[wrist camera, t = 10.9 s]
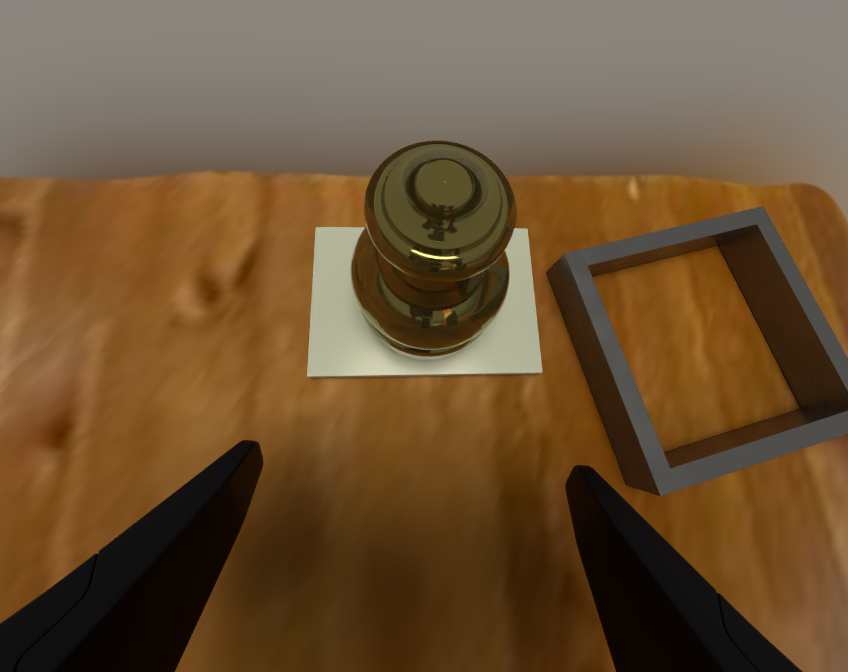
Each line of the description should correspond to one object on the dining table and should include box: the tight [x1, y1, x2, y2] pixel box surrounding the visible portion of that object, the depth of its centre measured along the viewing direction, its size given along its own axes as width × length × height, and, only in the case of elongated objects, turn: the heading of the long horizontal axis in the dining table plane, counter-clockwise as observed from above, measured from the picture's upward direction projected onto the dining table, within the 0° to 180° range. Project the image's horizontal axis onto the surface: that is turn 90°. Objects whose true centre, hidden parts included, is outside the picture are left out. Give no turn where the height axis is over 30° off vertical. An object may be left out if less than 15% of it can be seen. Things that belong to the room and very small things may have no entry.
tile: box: [307, 227, 542, 378], centre depth 20 cm, size 13×9×1 cm
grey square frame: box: [546, 206, 848, 496], centre depth 19 cm, size 13×13×2 cm
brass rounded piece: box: [350, 141, 517, 361], centre depth 14 cm, size 7×7×10 cm
